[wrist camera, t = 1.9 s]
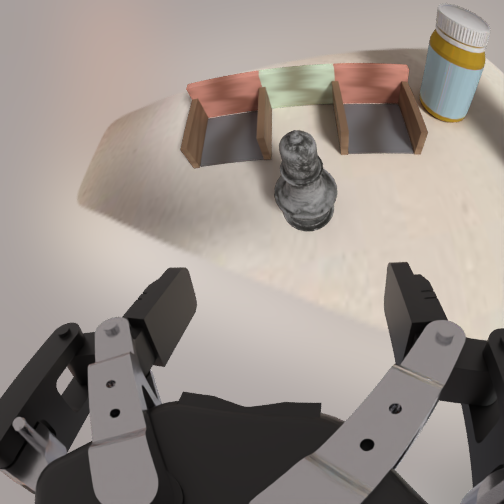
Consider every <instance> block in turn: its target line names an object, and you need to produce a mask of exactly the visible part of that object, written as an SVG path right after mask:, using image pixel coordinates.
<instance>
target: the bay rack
mask: <svg viewBox="0 0 504 504" xmlns="http://www.w3.org/2000/svg"><path fill="white" fill-rule="evenodd" d="M408 75H409V68H408V66H407V65H401V64H380V63H339V64H317V65H303V66H292V67H282V68H274V69H266V70H259V71H252V72H246V73H240V74H234V75H229V76H223V77H219V78H214V79H209V80H204V81H200V82H195V83H191V84H188V85H187V88H186V90H187V91H188V93H189V95H190V97H191V98H192V102H191V106H190V110H189V114H188V119H187V123H186V127H185V131H184V136H183V140H182V145H181V149H180V150H181V151H182V153H183V154H184V155H185V157H186V158H187V159H188V161H189V162H190V163H191V165H192V166H193V168H200V166H201V167H202V166H209V165H217V164H225V163H233V162H242V161H251V160H261V159H264V160H268V159H271V141H272V108H281V107H291V106H303V105H318V104H333V106H334V112H335V118H336V124H337V130H338V136H339V143H340V150H341V155H348V152H349V154H362V153H412V154H413V153H414V154H421V151H422V149H423V146H424V143H425V140H426V137H427V134H428V131H427V129H426V126H425V123H424V120H423V118H422V115H421V113H420V110H419V107H418V105H417V103H416V100H415V98H414V95H413V93H412V91H411V88H410V86H409V84H408V82H407V81H408ZM343 103H398V104H343ZM255 110H258V111H255ZM400 110H401V111H400ZM248 111H255V112H248ZM241 112H248V113H241ZM234 113H241V114H234ZM401 113H402V114H401ZM228 114H234V115H228ZM222 115H228V116H222ZM216 116H221V117H216ZM402 116H403V117H402ZM210 117H216V118H210ZM208 118H210V119H208ZM403 119H404V120H403ZM404 122H405V123H404ZM405 125H406V126H405ZM406 128H407V129H406ZM407 131H408V132H407ZM410 141H411V142H410ZM411 144H412V145H411ZM413 151H414V152H413Z"/></svg>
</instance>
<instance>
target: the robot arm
mask: <svg viewBox="0 0 504 504" xmlns="http://www.w3.org/2000/svg"><path fill="white" fill-rule="evenodd" d="M196 307H197V301H196V297H195V293H194V289H193V285H192V282H191V278H190V274H189V271H188V269H186V268H168V269H167V270H166V271H165V272H164V274H163V275H162V276H161V277H160V278H159V279H158V280H156V281H155V282H153V283H152V284H150V285H149V286H148V287H147V288H146V289H145V290H144V292H143V294H141V295H140V296H139V298H138V300H136V301H135V302H134V304H133V305H132V306H131V307H130V308H129V310H128V311H127V312H126V313H125V314H124V316H123V317H115V318H111V319H108V320H106V321H104V322H103V323H101V324H100V325H99V326H98V327H97V329H96V331H95V332H92V333H84V334H83V333H82V331H81V329H80V327H79V325H78V324H76V323H67V324H65V325H62V326H61V327H59V328H58V329H56V330H55V331H54V332H53V334H52V335H51V336H50V337H49V338H48V339H47V340H46V342H45V343H44V344H43V345H42V346H41V348H40V349H39V350H38V351H37V353H36V354H35V355H34V356H33V357H32V358H31V360H30V361H29V362H28V363H27V365H26V366H25V367H24V368H23V370H22V371H21V372H20V373H19V375H18V376H17V377H16V379H15V380H14V381H13V383H12V384H11V385H10V386H9V388H8V389H7V390H6V392H5V393H4V394H3V396H2V397H1V398H0V471H1V472H3V473H4V474H5V475H7V476H8V477H9V478H10V479H12V480H13V481H14V482H16V483H18V484H20V485H22V486H23V487H24V488H25V489H27V490H28V491H30V492H31V493H33V494H35V504H428V503H427V502H426V501H424V499H423V498H422V497H421V496H420V495H419V494H418V493H417V492H416V491H415V490H414V489H413V488H412V487H411V486H410V485H409V484H408V483H407V482H406V481H405V480H404V479H403V478H402V477H401V476H400V475H399V474H398V473H397V472H396V471H395V469H396V468H397V466H398V465H399V463H400V462H401V461H402V459H403V458H404V456H405V455H406V454H407V452H408V450H409V449H410V447H411V446H412V444H413V443H414V441H415V440H416V438H417V437H418V435H419V433H420V432H421V430H422V429H423V427H424V426H425V424H426V422H427V421H428V419H429V417H430V416H431V414H432V412H433V410H434V409H435V407H436V405H437V403H438V402H439V400H440V401H447V402H454V403H461V405H462V409H463V415H464V420H465V426H466V432H467V438H468V444H469V452H470V460H471V470H472V481H473V489H471V490H470V491H469V492H468V493H467V494H466V495H465V496H464V498H463V499H462V501H461V504H504V329H503V328H502V329H496V330H494V331H493V332H492V333H491V334H490V335H489V338H488V340H487V341H485V340H477V339H471V338H467V337H465V333H464V331H463V330H462V328H461V327H460V326H458V325H457V324H455V323H453V322H451V321H448V319H447V317H446V315H445V313H444V311H443V309H442V307H441V304H440V302H439V300H438V299H437V296H436V294H435V292H433V288H432V286H431V284H430V282H429V281H428V280H427V279H425V278H424V277H423V276H422V275H420V274H418V275H414V274H413V272H412V270H411V268H410V266H409V264H408V263H407V262H396V263H389V264H388V267H387V277H386V287H385V295H384V311H385V316H386V320H387V325H388V329H389V333H390V338H391V343H392V347H393V351H394V357H395V362H396V364H394V365H393V366H392V367H391V368H390V369H389V371H388V372H387V373H386V374H385V376H384V377H383V378H382V380H381V381H380V382H379V383H378V385H377V386H376V387H375V388H374V389H373V391H372V392H371V393H370V394H369V395H368V397H367V398H366V399H365V400H364V402H363V403H362V404H361V405H360V406H359V407H358V408H357V409H356V410H355V412H354V413H353V414H352V415H351V416H350V417H349V418H348V419H347V420H346V421H343V420H340V419H338V418H336V417H333V416H330V415H327V414H323V413H321V403H295V402H283V403H276V404H269V405H262V406H254V407H244V406H240V405H237V404H234V403H232V402H229V401H226V400H223V399H220V398H218V397H215V396H209V395H202V394H195V393H188V392H183V393H182V395H181V397H180V399H179V401H175V402H168V403H164V404H162V403H161V399H160V396H159V393H158V390H157V386H156V383H155V379H154V376H153V373H152V371H151V367H152V365H156V366H162V367H165V365H166V364H167V362H168V360H169V358H170V356H171V355H172V352H173V351H174V349H175V347H176V345H177V344H178V342H179V340H180V339H181V337H182V335H183V333H184V331H185V330H186V328H187V326H188V324H189V323H190V321H191V319H192V317H193V316H194V314H195V312H196ZM66 367H68V369H69V370H70V372H71V373H72V375H73V376H74V378H73V379H72V381H71V382H70V384H69V385H68V387H67V388H66V390H65V391H64V392H63V394H62V395H60V394H59V392H58V391H57V388H56V382H57V379H58V378H59V376H60V375H61V374H62V372H63V371H64V369H65V368H66ZM89 413H90V421H91V431H92V441H91V442H89V443H87V444H85V445H83V446H81V447H79V448H78V449H76V450H74V451H72V452H70V453H68V454H67V452H68V450H69V449H70V447H71V445H72V443H73V441H74V439H75V438H76V436H77V434H78V432H79V430H80V428H81V427H82V425H83V423H84V421H85V420H86V418H87V416H88V414H89Z"/></svg>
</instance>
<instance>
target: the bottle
mask: <svg viewBox="0 0 504 504" xmlns="http://www.w3.org/2000/svg"><path fill="white" fill-rule="evenodd" d="M489 34H490V26H489V25H488V23H487V22H486V21H484V20H483V19H482V18H481V17H479V16H478V15H476V14H475V13H473V12H471V11H469V10H467V9H464V8H462V7H459V6H456V5H451V4H441V5H439V7H438V10H437V18H436V29H435V30H434V32H433V33H432V35H431V37H430V41H429V47H428V53H427V59H426V65H425V70H424V75H423V80H422V85H421V90H420V101H421V103H422V105H423V106H424V107H425V109H426V110H427V111H428V112H429V113H430V114H431V115H433V116H434V117H435V118H437V119H439V120H442V121H445V122H458V121H461V120H463V119H464V118H465V116H466V114H467V112H468V109H469V107H470V104H471V102H472V99H473V96H474V94H475V91H476V88H477V86H478V83H479V80H480V77H481V74H482V71H483V68H484V64H485V52H484V51H485V49H486V44H487V42H488V38H489Z"/></svg>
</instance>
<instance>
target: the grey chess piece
mask: <svg viewBox="0 0 504 504" xmlns="http://www.w3.org/2000/svg"><path fill="white" fill-rule="evenodd" d="M279 151H280V155H281V158H282V162H281V165H280V172H281V177H280V178H279V179H278V181H277V183H276V186H275V194H274V195H275V199H276V203H277V204H278V206H279V208H280V209H281V210H282V211H283V212H284V216H285V218H286V220H287V222H288V223H289V224H290V225H291V226H292V227H294V228H296V229H298V230H302V231H314V230H318V229H320V228H322V227H324V226H325V225H326V224H327V223H328V222H329V221H330V219H331V218H332V216H333V212H334V203H335V201H336V197H337V185H336V183H335V180H334V178H333V177H332V176H331V175H330V173H328V172H327V171H326V170H324V169H323V163H322V160H321V159H320V158H319V156H318V155H317V147H316V143H315V140H314V138H313V137H312V136H311V135H310V134H308V133H306V132H304V131H299V130H297V131H296V130H294V131H291V132H289V133H287V134H286V135H285V136H284V137H283V138H282V139H281V141H280V144H279Z"/></svg>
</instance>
